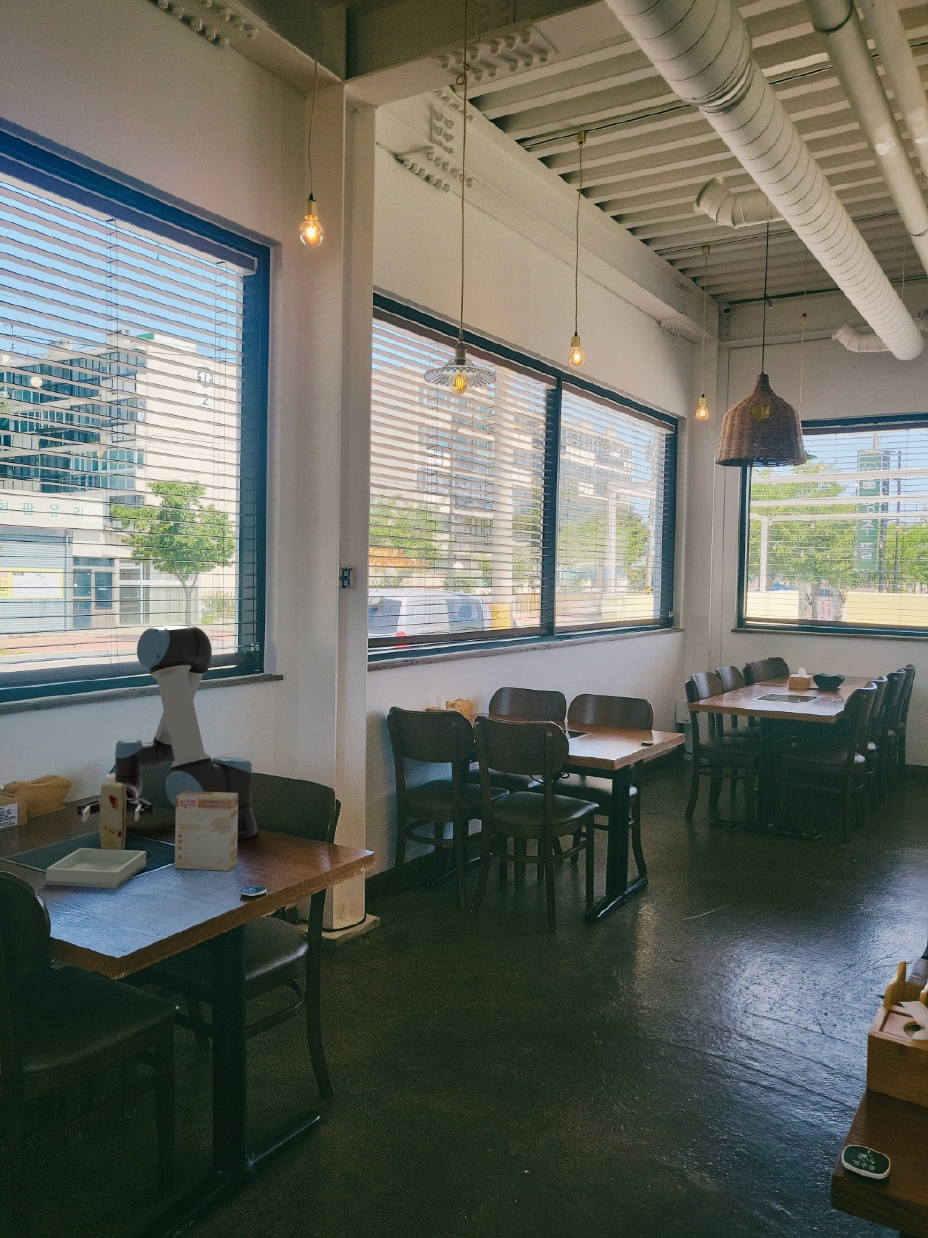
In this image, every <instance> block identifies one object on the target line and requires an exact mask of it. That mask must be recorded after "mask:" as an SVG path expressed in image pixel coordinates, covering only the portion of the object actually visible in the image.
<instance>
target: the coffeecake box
mask: <svg viewBox="0 0 928 1238" xmlns="http://www.w3.org/2000/svg"><path fill="white" fill-rule="evenodd" d="M174 825H175V833H174V836H175V838H174V869H178V870H179V869H181V870H182V869H185V870H200V871H202V870H204V871H219V872H220V871H221V872H222V871H223V872H230V871H232V869H233V868H234V867H235V866H236V865H237V864H238V840H237V832H238V793H221V792H196V791H184V792H183V793H181V794H179V795H178V796H176V806H175V824H174Z"/></svg>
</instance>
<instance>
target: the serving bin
mask: <svg viewBox="0 0 928 1238" xmlns="http://www.w3.org/2000/svg"><path fill="white" fill-rule="evenodd" d="M146 866H147V851H146V850H130V849H129V850H128V849H127V850H126V849H124V850H111V849H102V848H88V847H87V848H86V847H85V848H84V847H79V848H78V849H76V850H75V851H73V852H71V853H69V854H68V855H66V856H65V857H63V858H60V860H58V861H56V862H55V863H54V864H52V865H50V866H48V867H47V868H45V885H47V886H67V887H80V888H81V887H83V888H85V887H86V888H100V889H101V888H103V889H118V888H119V887H121V886H122V885H123V884H125V883H126V882H127V881H129V880H130V879H131V878H132V877H134V876H135V875H136V874H138V873H139V872H140V871H142V870H143V869H144V868H146Z"/></svg>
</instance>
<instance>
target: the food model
mask: <svg viewBox="0 0 928 1238" xmlns="http://www.w3.org/2000/svg"><path fill="white" fill-rule="evenodd" d="M99 799H100V812H99V822H98V823H99V825H98V826H99V839H100V840H99V841H100V847H101V848H100V849H111V850H125V846H126V835H127V834H126V833H127V812H126V789H125V786H124V784H122V783H118V782H114V781H109V782H106V781H105V782H103V783H102V784H101V785H100V798H99Z"/></svg>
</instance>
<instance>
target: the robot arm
mask: <svg viewBox="0 0 928 1238" xmlns="http://www.w3.org/2000/svg"><path fill="white" fill-rule="evenodd" d="M212 654H213V650H212V644H211V640H210V638H209V636H208V635H207V634H206V633H205V631H203V629H201V628H199V627H197V626H194V625H187V624H186V625H171V626H170V625H160V626H153V627H149V628H147V629H146V630H144V631H143V632H142V634H140V638H139V639H138V641H137V646H136V655H137V660H138V661H139V663H140V664H141V665H142V666H143V667H145V668H147V669H148V670H149V674H150V677H152V678H154V679H155V680H156V681H157V685H158V689H159V694H160V698H161V704H162V708H163V711H162V715H161V718H160V720H159V723H158V725H157V729H156V732H155V735H154V737H153V740H152V741H151V742H144V743H143V742H142V740H141V739H139V738H132V737H131V738H121V739H118V740H117V742H116V744H115V750H114V751H115V753H114V757H115V758H114V759H115V772H114V773H115V782H118V783H122V784H124V786H125V789H126V813H128V812H134V822H138V821H139V819H140V818H141V816H145V815H146V814H149V815H152V814H153V813H154V811H153V810H154V809H153V805H154V804H153V803H151V802H149V801H148V800H146V799H145V797H140V796H141V794H142V793H143V788H144V786H143V781H142V771H143V770H142V769H146V768H151V767H155V766H163V765H169V764H171V765H170V767H169V768H170V774H169V775H168V776H167V778H166V782H165V792H166V795H167V796H166V797H167V798H168V800H169V801H170V803H171V804H172V806H174V807H176V796H178V795H179V794H181V793H183V792H184V791H196V792H221V793H238V832H237V841H240V840H246V839H250V838H252V837H254V836H256V835H257V831H258V830H257V829H258V827H257V823H256V820H255V817H254V813H253V810H252V794H253V793H252V790H253V789H252V788H253V769H252V767H253V765H252V762H251V761H250V760H248V759H247V758H241V757H235V756H215V757H213V758H212V757H211V756H209V755H208V754H207V753H205V748H204V744H203V740H202V736H201V731H200V725H199V721H198V717H197V712H196V708H195V703H194V699H195V697H196V694H197V691H198V688H199V686H200V684H201V683H200V682H201V680H202V678H203V675H205V674H207V673H208V671H209V669H210V665H211V663H212V656H213V655H212ZM97 813H100V798H99V797H96V798H94V799H93V800H89V801H87V802H84V803H81V804H78V805H76V815H77V816H80V817H81V818H82V823H85V822H87V821H88V819H89V818H90V817H91V815H92V814H93V815H94V814H97Z"/></svg>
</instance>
